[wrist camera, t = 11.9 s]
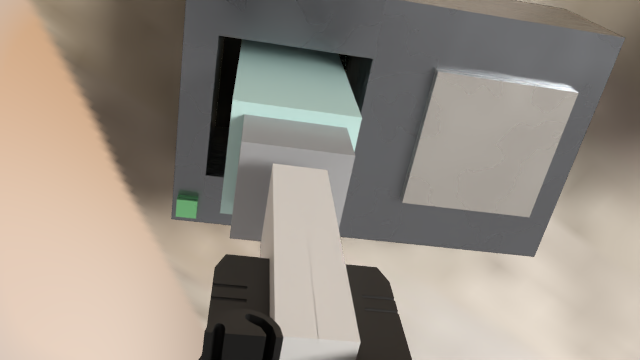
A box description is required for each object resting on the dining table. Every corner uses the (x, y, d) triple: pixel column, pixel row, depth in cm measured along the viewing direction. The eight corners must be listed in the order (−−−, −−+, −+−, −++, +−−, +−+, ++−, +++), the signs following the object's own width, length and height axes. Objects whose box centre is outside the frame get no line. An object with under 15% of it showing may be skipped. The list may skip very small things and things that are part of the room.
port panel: (203, -54, 24) (186, -34, 19) (565, 9, 26) (630, 40, 21) (186, 164, 28) (169, 224, 23) (496, 200, 31) (537, 262, 26)
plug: (243, 27, 25) (228, 125, 16) (333, 41, 26) (372, 145, 16) (234, 112, 27) (215, 247, 18) (318, 123, 28) (344, 260, 18)
